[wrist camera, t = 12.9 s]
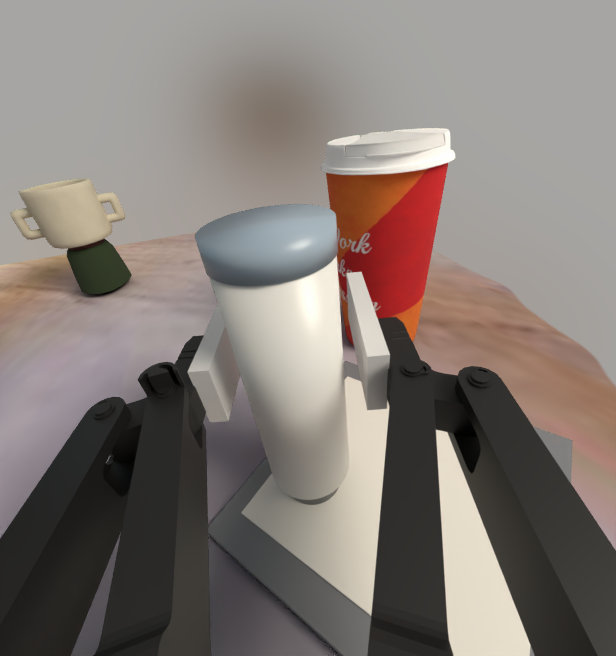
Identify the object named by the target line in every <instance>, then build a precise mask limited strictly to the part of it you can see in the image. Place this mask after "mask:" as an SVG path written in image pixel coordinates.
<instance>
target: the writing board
mask: <svg viewBox="0 0 616 656" xmlns="http://www.w3.org/2000/svg"><path fill="white" fill-rule="evenodd" d="M343 364H344V380H345V396H346V412H347V428H348V444H349V460H350V461H349V470H348V473H347V475H346V477H345V479H344V481H343V482H342V484H341V485H340V486H339V488H338V490H337V492H336V493H335V494H334V495H333V496H332V497H331V498H330V499H329V500H327V501H326V502H323V503H321V504H317V505H307V504H303V503H300V502H299V501H297V500H295V499H294V498H293V497H292V496H290V495H288V494H286V493H285V492H284V491H282V490H281V489H280V488H279V487H278V485H277V484H276V482H275V480H274V478H273V475H272V472H271V469H270V465H269V462H268V459H267V456H266V458H265V459H264V460H263V461H262V462H261V464H260V465H259V466H258V467H257V468H256V470H255V471H254V472H253V473H252V474H251V476H250V477H249V478H248V479H247V481H246V482H245V483H244V484H243V485H242V487H241V488H240V489H239V490H238V491H237V493H236V494H235V495H234V496H233V497H232V499H231V500H230V501H229V502H228V503H227V505H226V506H225V507H224V508H223V509H222V511H221V512H220V513H219V514H218V516H217V517H216V518H215V519H214V520H213V522H212V523H211V524H210V525H209V526H208V534H209V536H210V537H212V538H213V539H214V540H215V541H216V542H217V543H218V544H219V545H220V546H221V547H223V548H224V549H225V550H226V551H227V552H228V553H229V554H230V555H231V556H232V557H233V558H235V559H236V560H237V561H238V562H239V563H240V564H241V565H242V566H243V567H244V568H245V569H247V570H248V571H249V572H250V573H251V574H252V575H253V576H254V577H255V578H256V579H258V580H259V581H260V582H261V583H262V584H263V585H264V586H265V587H266V588H267V589H268V590H270V591H271V592H272V593H273V594H274V595H275V596H276V597H277V598H278V599H279V600H281V601H282V602H283V603H284V604H285V605H286V606H287V607H288V608H289V609H290V610H291V611H293V612H294V613H295V614H296V615H297V616H298V617H299V618H300V619H301V620H302V621H304V622H305V623H306V624H307V625H308V626H309V627H310V628H311V629H312V630H313V631H314V632H316V633H317V634H318V635H319V636H320V637H321V638H322V639H323V640H324V641H325V642H327V643H328V644H329V645H330V646H331V647H332V648H333V649H334V650H335V651H336V652H337V653H339V654H340V655H341V656H367V654H368V643H369V632H370V623H371V614H372V603H373V591H374V580H375V568H376V556H377V545H378V533H379V521H380V510H381V498H382V487H383V475H384V463H385V452H386V440H387V428H388V417H389V404H388V400H387V409H378V410H367V406H366V402H365V397H364V392H363V387H362V382H361V377H360V372H359V367H358V365H356V364H353V363H350V362H347V361H345V362H344V363H343ZM533 428H534V429H535V431H536V432H537V434H538V435H539V437H540V438H541V440H542V441H543V443H544V444H545V446H546V447H547V449H548V450H549V452H550V453H551V455H552V456H553V458H554V459H555V461H556V462H557V464H558V465H559V467H560V468H561V470H562V471H563V473H564V474H565V476H566V477H567V479H568V480H569V482H570V483H571V468H572V440H570V439H567V438H564V437H561V436H559V435H556V434H553V433H550V432H547V431H544V430H541V429H539V428H536V427H533ZM436 440H437V456H438V473H439V490H440V507H441V524H442V541H443V558H444V575H445V592H446V609H447V625H448V636H449V642H450V645H451V649H452V652H453V656H535V655H534V653H533V650H532V648H531V645H530V643H529V640H528V637H527V635H526V632H525V630H524V627H523V625H522V622H521V620H520V617H519V614H518V612H517V609H516V607H515V604H514V602H513V599H512V596H511V594H510V591H509V589H508V586H507V584H506V581H505V579H504V576H503V573H502V571H501V568H500V566H499V563H498V561H497V558H496V556H495V553H494V550H493V548H492V545H491V543H490V540H489V538H488V535H487V533H486V530H485V527H484V525H483V522H482V520H481V517H480V515H479V512H478V510H477V507H476V504H475V502H474V499H473V497H472V494H471V492H470V489H469V487H468V484H467V481H466V479H465V476H464V474H463V471H462V469H461V466H460V464H459V461H458V458H457V456H456V453H455V451H454V448H453V446H452V443H451V441H450V438H449V435H448V433H447V432H445V431H440V430H436Z"/></svg>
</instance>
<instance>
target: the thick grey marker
mask: <svg viewBox="0 0 616 656" xmlns="http://www.w3.org/2000/svg"><path fill="white" fill-rule="evenodd" d="M195 239H196V242H197V246H198V249H199V252H200V255H201V258H202V261H203V264H204V267H205V270H206V273H207V275H208V276H209V277H210V280H211V283H212V286H213V290H214V293H215V296H216V299H217V302H218V305H219V308H220V312H221V315H222V318H223V321H224V324H225V327H226V330H227V334H228V337H229V340H230V343H231V346H232V349H233V352H234V356H235V359H236V362H237V365H238V368H239V371H240V374H241V378H242V381H243V384H244V387H245V390H246V393H247V396H248V399H249V403H250V406H251V409H252V412H253V415H254V418H255V421H256V425H257V428H258V431H259V434H260V437H261V440H262V443H263V447H264V450H265V453H266V456H267V459H268V462H269V465H270V469H271V472H272V475H273V478H274V480H275V482H276V484H277V485H278V487H279V488H280V489H281V490H282V491H284V492H285V493H286V494H288V495H290V496H292V497H293V498H294V499H295V500H297V501H299V502H300V503H303V504H307V505H317V504H321V503H323V502H326V501H327V500H329V499H330V498H331V497H332V496H333V495H334V494H335V493H336V492H337V490H338V488H339V486H340V485H341V484H342V482H343V481H344V479H345V477H346V475H347V473H348V470H349V461H350V460H349V444H348V428H347V412H346V396H345V380H344V364H343V348H342V332H341V316H340V300H339V284H338V268H337V253H338V241H337V224H336V214H335V213H334V211H332V210H331V209H328V208H326V207H322V206H317V205H307V204H287V205H275V206H267V207H261V208H255V209H250V210H245V211H241V212H237V213H234V214H231V215H227V216H224V217H222V218H219V219H217V220H214V221H212V222H210V223H208V224H206V225H205V226H203V227H202V228H200V229H199V230H198V231H197V233H196V234H195Z"/></svg>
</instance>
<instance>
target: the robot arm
mask: <svg viewBox="0 0 616 656" xmlns="http://www.w3.org/2000/svg"><path fill="white" fill-rule="evenodd" d="M346 274H347V298H348V319H349V324H350V328H351V333H352V338H353V343H354V348H355V353H356V358H357V363H358V367H359V372H360V377H361V382H362V387H363V392H364V397H365V402H366V406H367V410H378V409H387V400H388V404H389V417H388V428H387V440H386V452H385V463H384V475H383V487H382V498H381V510H380V521H379V533H378V545H377V556H376V568H375V580H374V591H373V603H372V614H371V623H370V632H369V643H368V654H367V656H453V652H452V649H451V645H450V642H449V636H448V625H447V609H446V592H445V575H444V558H443V541H442V524H441V507H440V490H439V473H438V456H437V440H436V430H440V431H445V432H447V433H448V435H449V438H450V441H451V443H452V446H453V448H454V451H455V453H456V456H457V458H458V461H459V464H460V466H461V469H462V471H463V474H464V476H465V479H466V481H467V484H468V487H469V489H470V492H471V494H472V497H473V499H474V502H475V504H476V507H477V510H478V512H479V515H480V517H481V520H482V522H483V525H484V527H485V530H486V533H487V535H488V538H489V540H490V543H491V545H492V548H493V550H494V553H495V556H496V558H497V561H498V563H499V566H500V568H501V571H502V573H503V576H504V579H505V581H506V584H507V586H508V589H509V591H510V594H511V596H512V599H513V602H514V604H515V607H516V609H517V612H518V614H519V617H520V620H521V622H522V625H523V627H524V630H525V632H526V635H527V637H528V640H529V643H530V645H531V648H532V650H533V653H534V655H535V656H616V550H615V549H614V547H613V546H612V544H611V543H610V541H609V540H608V538H607V537H606V535H605V534H604V533H603V531H602V530H601V528H600V527H599V525H598V524H597V522H596V521H595V519H594V518H593V516H592V515H591V513H590V512H589V510H588V509H587V507H586V506H585V504H584V503H583V501H582V500H581V498H580V497H579V495H578V494H577V492H576V491H575V489H574V488H573V486H572V485H571V483H570V482H569V480H568V479H567V477H566V476H565V474H564V473H563V471H562V470H561V468H560V467H559V465H558V464H557V462H556V461H555V459H554V458H553V456H552V455H551V453H550V452H549V450H548V449H547V447H546V446H545V444H544V443H543V441H542V440H541V438H540V437H539V435H538V434H537V432H536V431H535V429H534V428H533V426H532V425H531V423H530V422H529V420H528V419H527V417H526V416H525V414H524V413H523V411H522V410H521V408H520V407H519V405H518V404H517V402H516V401H515V399H514V398H513V396H512V395H511V393H510V392H509V390H508V389H507V387H506V386H505V384H504V383H503V381H502V380H501V378H500V377H499V376H498V375H497V374H496V373H494V372H492V371H490V370H489V369H486V368H482V367H475V366H471V367H466V368H463V369H462V370H460V371H459V374H458V376H457V375H450V374H443V373H439V372H436V371H433V370H431V367H430V366H429V365H428V364H427V363H425V362H423V361H421V360H420V358H419V355H418V353H417V351H416V349H415V347H414V344H413V342H412V340H411V338H410V336H409V334H408V332H407V329H406V327H405V325H404V323H403V322H402V321H401V320H399V319H398V318H397V317H388V318H377V316H376V313H375V310H374V307H373V304H372V301H371V298H370V295H369V292H368V289H367V287H366V284H365V281H364V278H363V275H362V272H353V273H346ZM239 377H240V371H239V368H238V365H237V362H236V359H235V356H234V352H233V349H232V346H231V343H230V340H229V337H228V334H227V330H226V327H225V324H224V321H223V318H222V315H221V312H220V308H219V305H217V308H216V310H215V312H214V314H213V317H212V319H211V321H210V323H209V325H208V328H207V330H206V332H205V334H204V335H203V336H193V337H192V338H191V339H190V340H189V341H188V342H187V343H186V344H185V345H184V347H183V349H182V351H181V353H180V355H179V357H178V360H177V361H176V363H175V364H173V363H170V362H163V363H158V364H155V365H153V366H151V367H149V368H148V369H146V370H145V371H144V372H143V373H142V374H141V375H140V376H139V378H138V381H139V383H140V384H141V386H142V388H143V390H144V391H145V393H146V395H147V398H145V399H142V400H139V401H136V402H132V403H129V404H126V403H125V401H124V400H123V399H122V398H120V397H111V398H107V399H104V400H102V401H100V402H98V403H97V404H95V405H94V406H92V407H91V408H90V409H89V410H88V411H87V413H86V414H85V415H84V417H83V418H82V420H81V421H80V423H79V424H78V426H77V427H76V429H75V430H74V431H73V433H72V434H71V436H70V437H69V439H68V440H67V442H66V443H65V445H64V446H63V448H62V449H61V451H60V452H59V453H58V455H57V456H56V458H55V459H54V461H53V462H52V464H51V465H50V467H49V468H48V470H47V471H46V473H45V474H44V476H43V477H42V478H41V480H40V481H39V483H38V484H37V486H36V487H35V489H34V490H33V492H32V493H31V495H30V496H29V498H28V499H27V500H26V502H25V503H24V505H23V506H22V508H21V509H20V511H19V512H18V514H17V515H16V517H15V518H14V520H13V521H12V522H11V524H10V525H9V527H8V528H7V530H6V531H5V533H4V534H3V536H2V537H1V539H0V656H70V655H71V653H72V651H73V648H74V646H75V643H76V641H77V638H78V636H79V633H80V631H81V628H82V626H83V623H84V621H85V619H86V616H87V614H88V611H89V609H90V606H91V604H92V601H93V599H94V596H95V594H96V591H97V589H98V586H99V584H100V582H101V579H102V577H103V574H104V572H105V569H106V567H107V564H108V562H109V559H110V557H111V554H112V552H113V550H114V547H115V545H116V542H117V540H118V537H119V535H120V532H121V536H120V542H119V547H118V552H117V557H116V562H115V568H114V573H113V578H112V583H111V588H110V594H109V599H108V604H107V609H106V614H105V620H104V625H103V630H102V635H101V640H100V643H99V647H98V649H97V651H96V653H95V654H94V655H93V656H212V655H211V646H210V607H209V558H208V509H207V460H206V430H205V426H204V424H203V420H204V417H205V414H206V415H207V417H208V419H209V422H222V421H229V417H230V413H231V409H232V405H233V401H234V397H235V393H236V389H237V385H238V381H239ZM109 455H110V456H111V457H110V459H109V461H108V462H107V463H106V461H107V459H108V457H109ZM105 463H106V464H105ZM121 530H122V531H121Z"/></svg>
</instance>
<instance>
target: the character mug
mask: <svg viewBox="0 0 616 656" xmlns="http://www.w3.org/2000/svg"><path fill="white" fill-rule="evenodd" d="M19 194H20V196H21V198H22V200H23V201H24V203H25V205H26V206H27V208H24V209H19V210H14V211H12V212H11V217H12V219H13V221H14V222H15V224H16V225H17V227H18V228H19V230H20V231H21V233H22V235H23V236H24V237H25V238H26V239H31V240H32V239H38V238H42V237H45V238H46V240H47V241H48V243H49V244H50V245H52V246H53V247H54V248H61V249H62V248H63V249H64V248H68V250H67V258H68V260H69V263H70V265H71V268H72V270H73V273H74V275H75V278H76V280H77V282H78V284H79V287H80V289H81V291H82V292H84V293H88V294H101V293H105V292H108V291H112V290H114V289H116V288H118V287H120V286H122V285H123V284H124V283H126V282H127V281H128V280H129V279H130V277H131V273H130V271H129V270H128V268H127V266H126V265H125V263H124V261H123V260H122V258H121V257H120V255H119V254H118V252H117V251H116V249H115V248H114V246H113V245H112V244H110V243H109V242H108V241H107V240H105V239H104V238H106V237H107V236H109V235H110V234H111V233H112V224H111V223H112V222H116V221H120V220H123V219H125V213H124V211H123V209H122V207H121V204H120V202H119V200H118V197H117V196H116V195H115V193H105V194H99V195H98V194H97V192H96V190H95V188H94V186H93V184H92V182H91V180H90V179H74V180H66V181H60V182H54V183H49V184H44V185H40V186H36V187H32V188H29V189H25V190H22V191H19ZM105 202H110V203H111V204H112V207H113V209H114V211H115V213H114V214H109V215H107V214H106V211H105V209H104V207H103V205H102V203H105ZM28 217H33V218H34V220H35V221H36V223H37V225H38V226H39V228H40V229H37V230H30V228H29V226H28V225H27V223H26V221H25V220H24V218H28Z"/></svg>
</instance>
